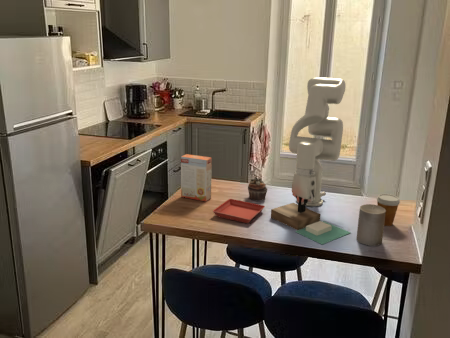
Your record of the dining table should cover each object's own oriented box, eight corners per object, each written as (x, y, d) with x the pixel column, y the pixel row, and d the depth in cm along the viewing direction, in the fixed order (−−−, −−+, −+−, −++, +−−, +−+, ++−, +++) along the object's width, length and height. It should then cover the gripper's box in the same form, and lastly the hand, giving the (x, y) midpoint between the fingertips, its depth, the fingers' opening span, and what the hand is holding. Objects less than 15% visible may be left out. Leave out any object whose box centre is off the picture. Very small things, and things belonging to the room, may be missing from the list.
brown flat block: (292, 210, 199) (293, 202, 198) (319, 222, 187) (320, 213, 186) (270, 217, 191) (271, 209, 190) (297, 230, 179) (298, 221, 178)
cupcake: (262, 202, 208) (264, 182, 205) (244, 199, 212) (245, 179, 209) (269, 196, 217) (270, 177, 214) (251, 193, 221) (252, 174, 218)
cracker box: (211, 198, 212) (212, 157, 206) (205, 202, 207) (206, 160, 201) (186, 193, 218) (186, 153, 212) (180, 197, 212) (180, 156, 206)
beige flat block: (331, 225, 179) (331, 230, 179) (320, 220, 183) (319, 225, 184) (317, 231, 173) (316, 235, 174) (306, 226, 178) (305, 230, 178)
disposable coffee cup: (385, 229, 182) (389, 202, 179) (368, 220, 190) (372, 195, 187) (401, 225, 186) (405, 199, 183) (384, 217, 194) (388, 192, 191)
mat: (323, 221, 188) (323, 221, 188) (350, 233, 178) (350, 232, 178) (295, 231, 177) (295, 231, 177) (322, 244, 167) (322, 244, 167)
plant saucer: (265, 212, 198) (265, 205, 197) (249, 226, 182) (250, 219, 181) (229, 204, 205) (229, 198, 204) (211, 218, 190) (211, 211, 189)
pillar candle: (374, 234, 177) (378, 200, 172) (386, 245, 167) (391, 209, 163) (351, 236, 175) (355, 201, 171) (363, 247, 166) (367, 210, 162)
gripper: (324, 174, 177) (320, 215, 183) (297, 165, 188) (294, 204, 194) (312, 177, 172) (308, 219, 178) (285, 168, 183) (282, 208, 189)
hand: (301, 211), depth 186 cm, fingers closed
